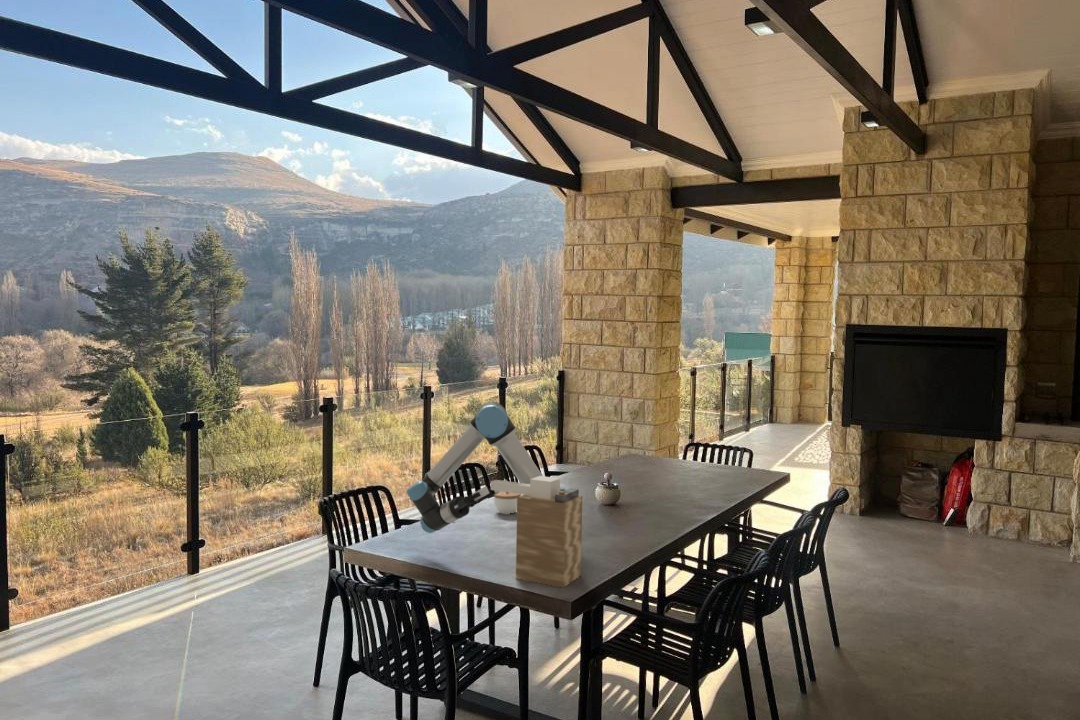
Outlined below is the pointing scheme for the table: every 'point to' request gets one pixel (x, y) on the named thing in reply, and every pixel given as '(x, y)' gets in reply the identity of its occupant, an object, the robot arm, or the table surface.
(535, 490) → the white long stepped block
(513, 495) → the lidded bowl
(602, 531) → the table surface
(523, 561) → the cabinet
